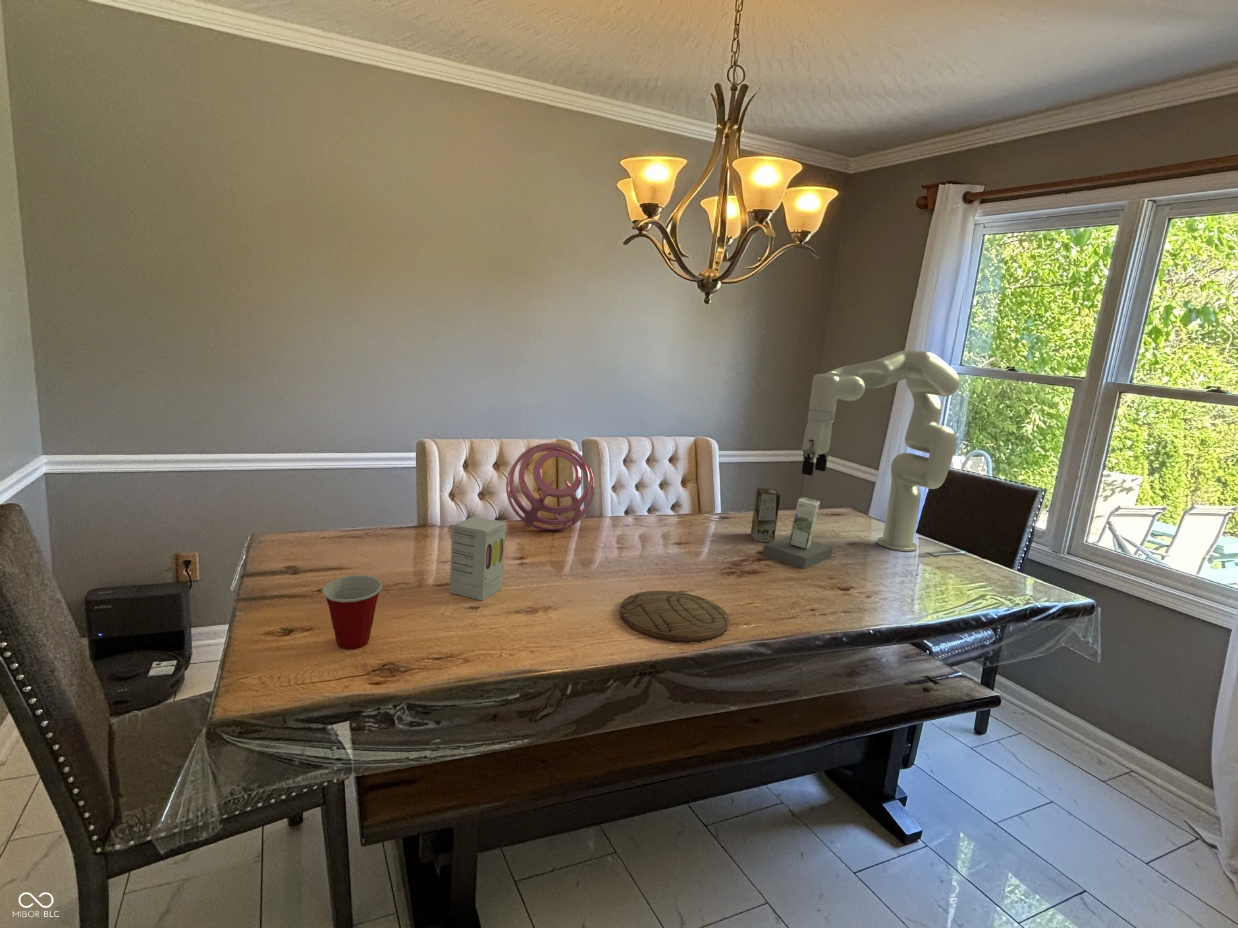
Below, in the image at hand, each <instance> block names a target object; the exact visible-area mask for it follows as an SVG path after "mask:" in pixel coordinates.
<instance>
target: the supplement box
mask: <svg viewBox="0 0 1238 928" xmlns="http://www.w3.org/2000/svg"><path fill="white" fill-rule="evenodd" d="M506 523H507V522H505V521H500V520H496V519H489V518H485V517H480V516H471V517H469V518H466V519H464V520H462V521H459V522H457V523H453V524H452V525H451V549H450V551H451V552H450V568H449V569H450V571H449V572H450V574H449V575H450V576H449V593H450V594H454V595H457V596H462V597H467V598H470V599H473V600H478V601H484V600H485V599H487V598H489V597H490V596H492V595H494V594H495V593H497V592H499V591H500V590H502V589H503V576H504V559H505V557H504V556H505V541H506V529H507V528H506V525H507V524H506Z"/></svg>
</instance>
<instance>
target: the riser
mask: <svg viewBox="0 0 1238 928" xmlns="http://www.w3.org/2000/svg"><path fill="white" fill-rule="evenodd" d="M790 536H791V534H790V535H788V536H784V537H782V538H779V539H776V540H774V541H773V542H767V543H765V544H763V548H762V556H763V557H766V558H769V559H772V560H775V561H778V562H782V563H785V564H787V565H791V566H793V565H794V566H793V567H797V568H799V569H804V570H806V569H807V568H810V567H812V566H815V565H816V564H819V563H822V562H823V561H826V560H828V559H830V558H832V555H833V550H834V549H833V548H834V546H831V545H829V544H826V543H823V542H822V543H821V542H818V541H816V540H812V541H811V545H810V546H809V547H808V549H803V548H800V547H796V546H793V545H789V541H790Z"/></svg>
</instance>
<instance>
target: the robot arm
mask: <svg viewBox="0 0 1238 928" xmlns="http://www.w3.org/2000/svg"><path fill="white" fill-rule="evenodd" d="M902 380H905V383H906V387H907V388H908V389H909V392H910V394H911V396H912V400H913V407H912V408H913V409H912V411H911V415H910V416H911V417H910V419H909V423H908V426H907V428H906V433H905V437H904V443H905V446H907V447H908V448H910V449H912V450H913V451H914V450H915V451H918V452H922V453H926V454H929V455H928V457H927V456H923V455H920V454H916V453H910V452H902V453H899V454H897V455H896V456H894V458H893V460H892V462H891V464H890V475H891V478H890V479H891V480H890V481H891V483H890V492H889V498H888V504H887V509H886V515H885V521H884V528H883V533H882V536H879V537H878V538H877V539H876V542H877V543H878V545H880V546H881V547H883V548H887V549H890V550H895V551H899V552H900V551H901V552H914V551H916V550H917V548H918V545H917V544H916V543H915V542H914V537H915V532H916V527H917V526H916V525H917V521H918V515H919V510H920V503H921V495H922V494H921V491H920V487H922V488H926V489H930V490H935V489H938V488H940V487H941V486H942V485H943V484H944V482H945V480H946V478H947V477H948V473H949V470H950V467H951V464H952V460H953V457H954V454H955V451H956V447H957V435H956V433H955V431H954V430H953V429H952V428H951V427H949V426H945V425H941V424H939V423H940V420H941V415H942V411H943V409H942V403H941V400H940V397H949V396H953V394H955V393H956V392H957V391H958V388H959V387H960V377H959V374H958V373H957V371H956V370H955V369H954V368H953V367H951V366H950V365H949V364H947V363H946V362H945V361H944V360H943V359H942V358H940V357H939V356H938V355H936V354H934V353H932V352H929V351H921V350H911V349H906V350H900V351H897V352H895V353H892V354H890V355H887V356H884V357H882V358H879V359H875V360H872V361H866V362H865V361H864V362H861V363H856V364H851V365H844V366H841V367H838V368H834V369H832V370H829V371H826V373H817V374H815V375H814V376H813V378H812V385H811V392H810V400H809V407H808V416H807V424H806V426H805V427H806V428H805V432H804V437H803V442H802V449H801V452H802V453H803V454H802V456H803V458H802V469H801V474H802V475H807V476H813V474H814V470H815V471H821V472H826V471H827V463H828V458H829V451H830V447H831V439H832V429H833V423H834V422H835V419H836V410H837V402H838V400H842V401H848V402H853V401H857V400H859V399H860V398H861V397H862V396H863V395H864V394H865V392H866V391H865V390H866V389H876V388H877V389H878V388H884V387H886V386H889V385H892V384H895V383H897V382H900V381H902ZM815 458H816V460H815ZM814 461H815V462H814Z"/></svg>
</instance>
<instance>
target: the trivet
mask: <svg viewBox="0 0 1238 928" xmlns="http://www.w3.org/2000/svg"><path fill="white" fill-rule="evenodd" d="M619 616H620V619H621V620H622V623H624V625H626V626H627V627H628V628H630V629H631V630H633V631H635V632H636V633H639V634H641V635H643V636H647V637H649V638H652V639H655V640H659V641H664V642H665V641H666V642H668V643H669V642H670V643H680V642H681V643H682V644H691V643H690V642H698V643H703V642H702V641H705V642H707V641H706V640H710V641H713V640H712V639H714V640H716V639H718V638H720V637H722V636H723V635H725V633H726V632H727V631H728V628H729V621H730V618H729V615H728V613H727V611H725V609H724V608H723V607H721V606H720V605H718V604H717V603H715V602H713V601H712V600H709V599H707V598H704V597H702V596H698V595H694V594H691V593H688V592H687V593H686V592H680V591H674V590H673V591H672V590H649V591H648V590H646V591H643V592H642V591H641V592H640V591H639V592H637V593H634V594H631V595H629V596H627V597H626V598H624V599H623V601H622V602H621V604H620V609H619ZM724 632H725V633H724ZM719 636H720V637H719ZM717 637H718V638H717ZM715 638H716V639H715ZM681 643H680V644H681Z"/></svg>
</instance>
